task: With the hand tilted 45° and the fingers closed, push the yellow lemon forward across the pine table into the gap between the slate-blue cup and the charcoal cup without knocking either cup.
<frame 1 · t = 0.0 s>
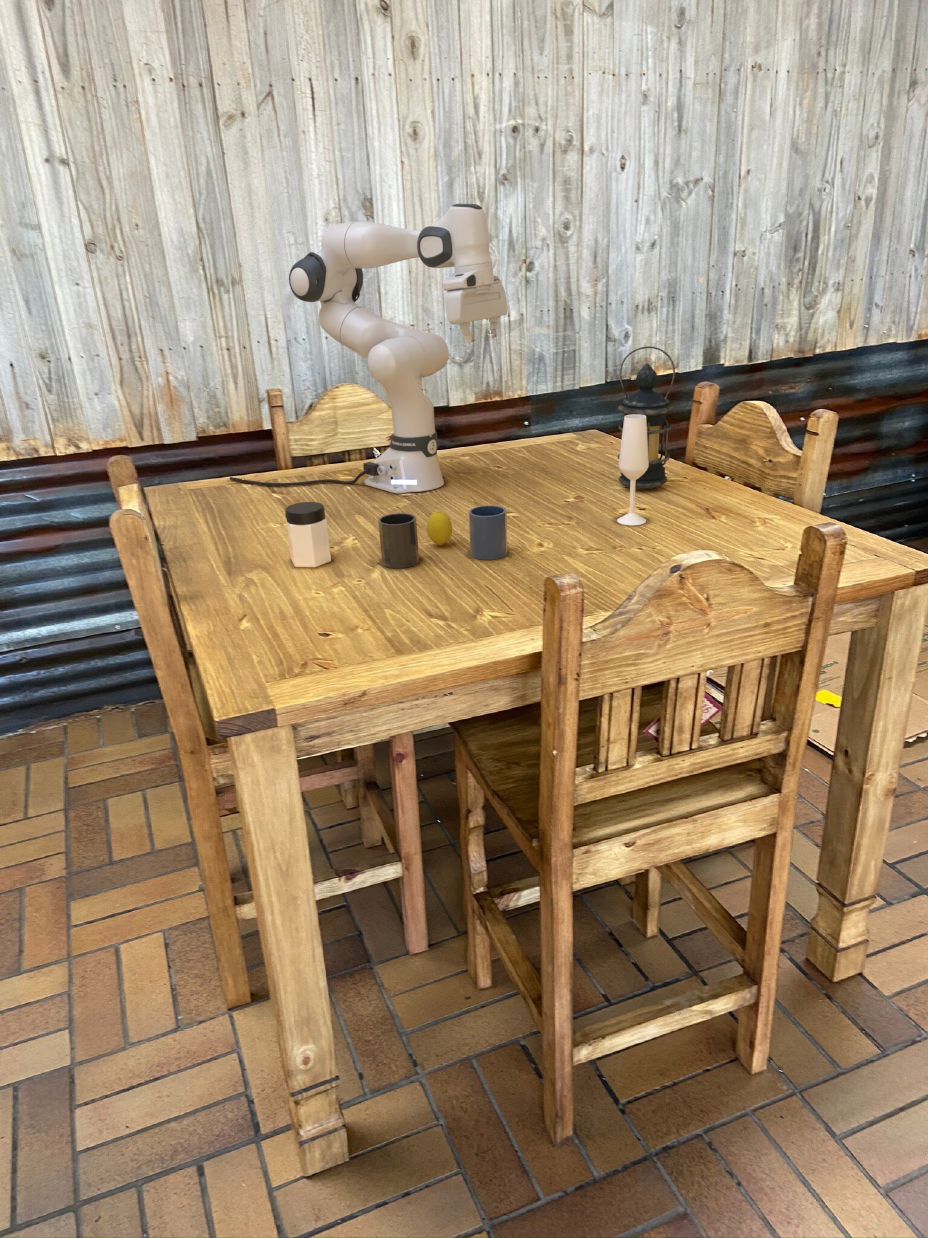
hand: (481, 339, 212), 39 cm above the table, tool pointing down, fingers open, 8 cm apart
slate cup: (489, 553, 189), on the table
champagne flute: (631, 521, 205), on the table
lantern: (642, 487, 229), on the table
charcoal cup: (400, 561, 187), on the table
jar: (311, 561, 190), on the table
lemon: (440, 546, 195), on the table
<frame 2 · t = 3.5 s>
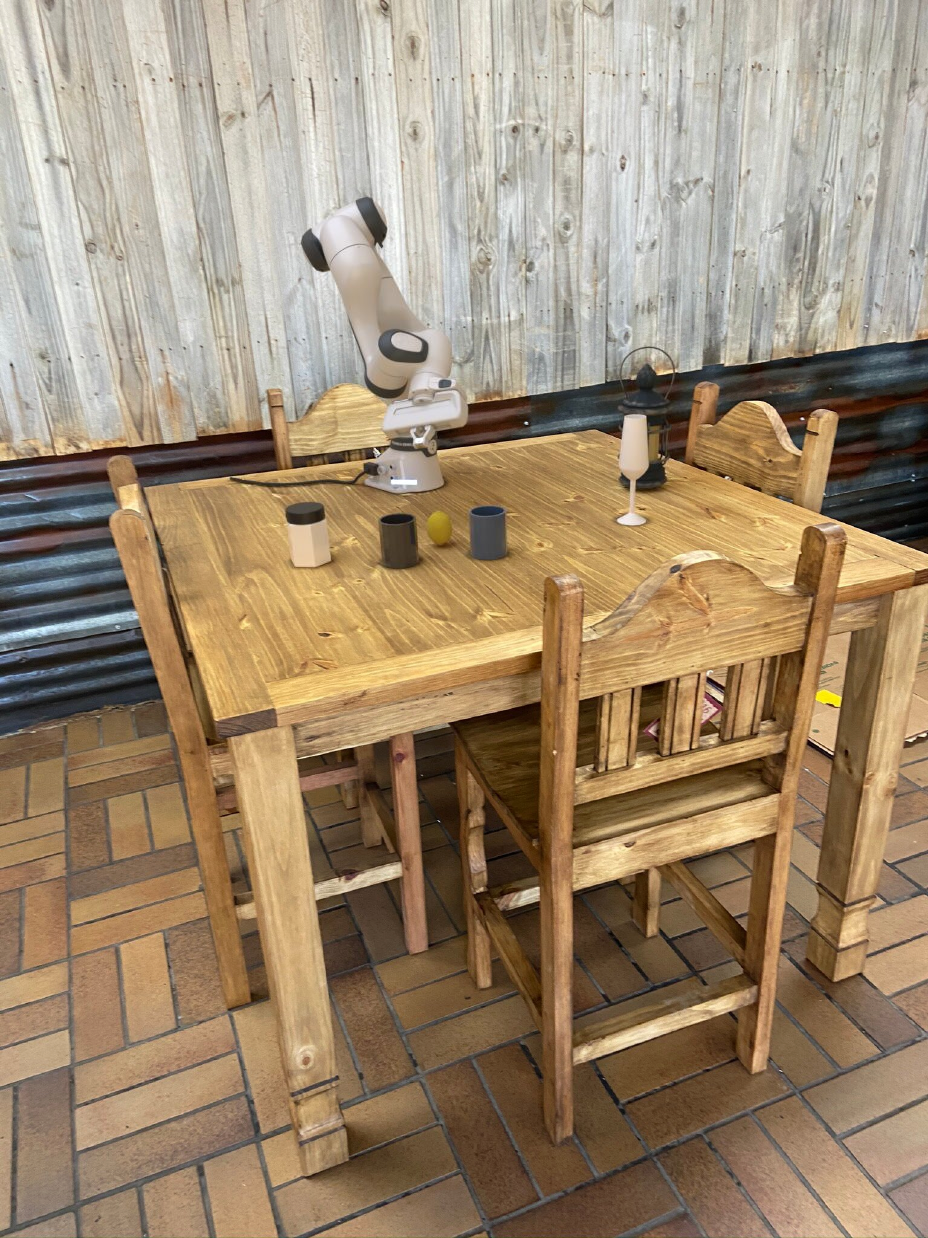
hand: (420, 446, 196), 20 cm above the table, tool tilted 45°, fingers closed
nothing on the table moved.
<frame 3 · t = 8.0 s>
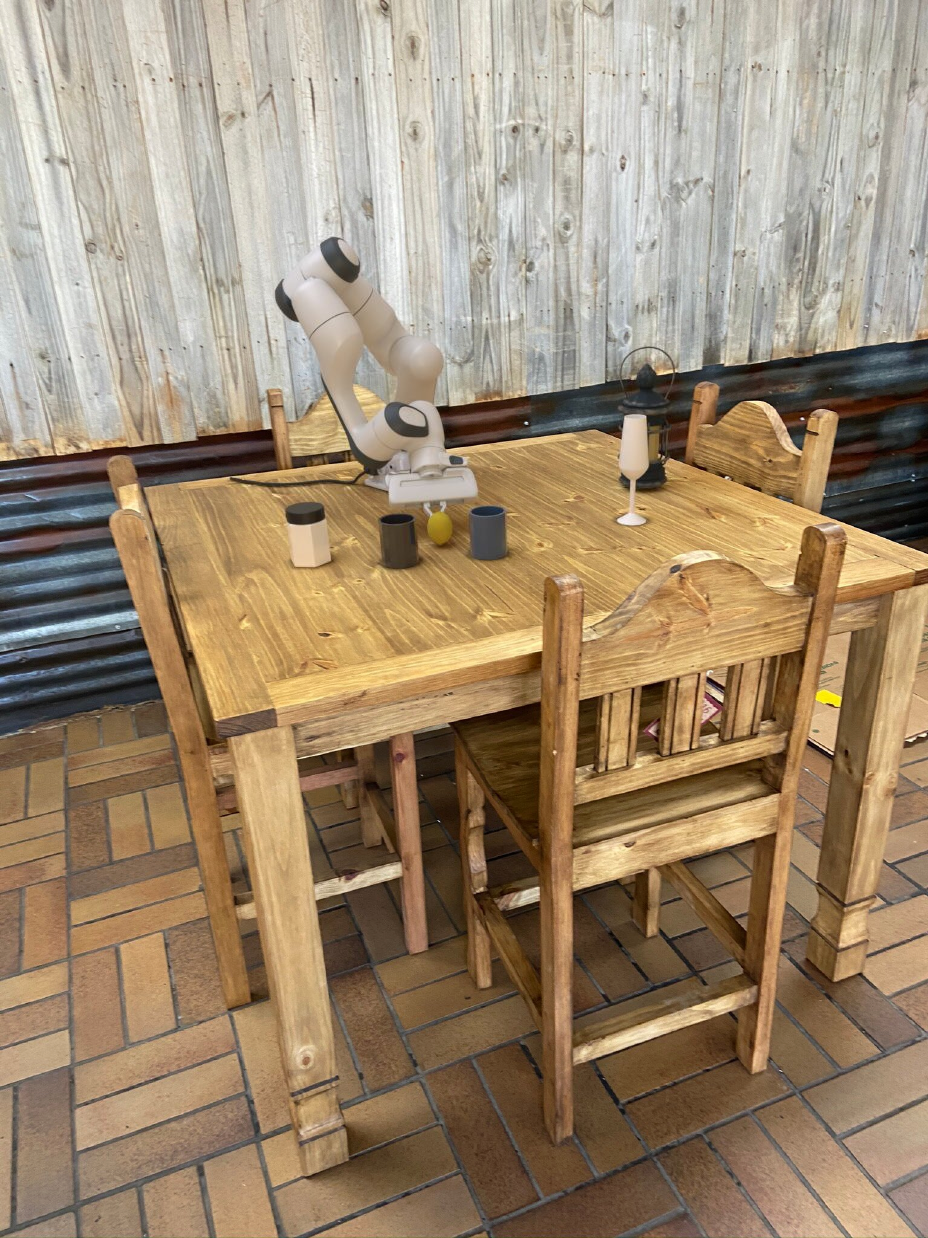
hand: (437, 522, 196), 4 cm above the table, tool tilted 45°, fingers closed, pressing on lemon
lemon: (440, 546, 195), on the table, touching gripper
everything else where it was.
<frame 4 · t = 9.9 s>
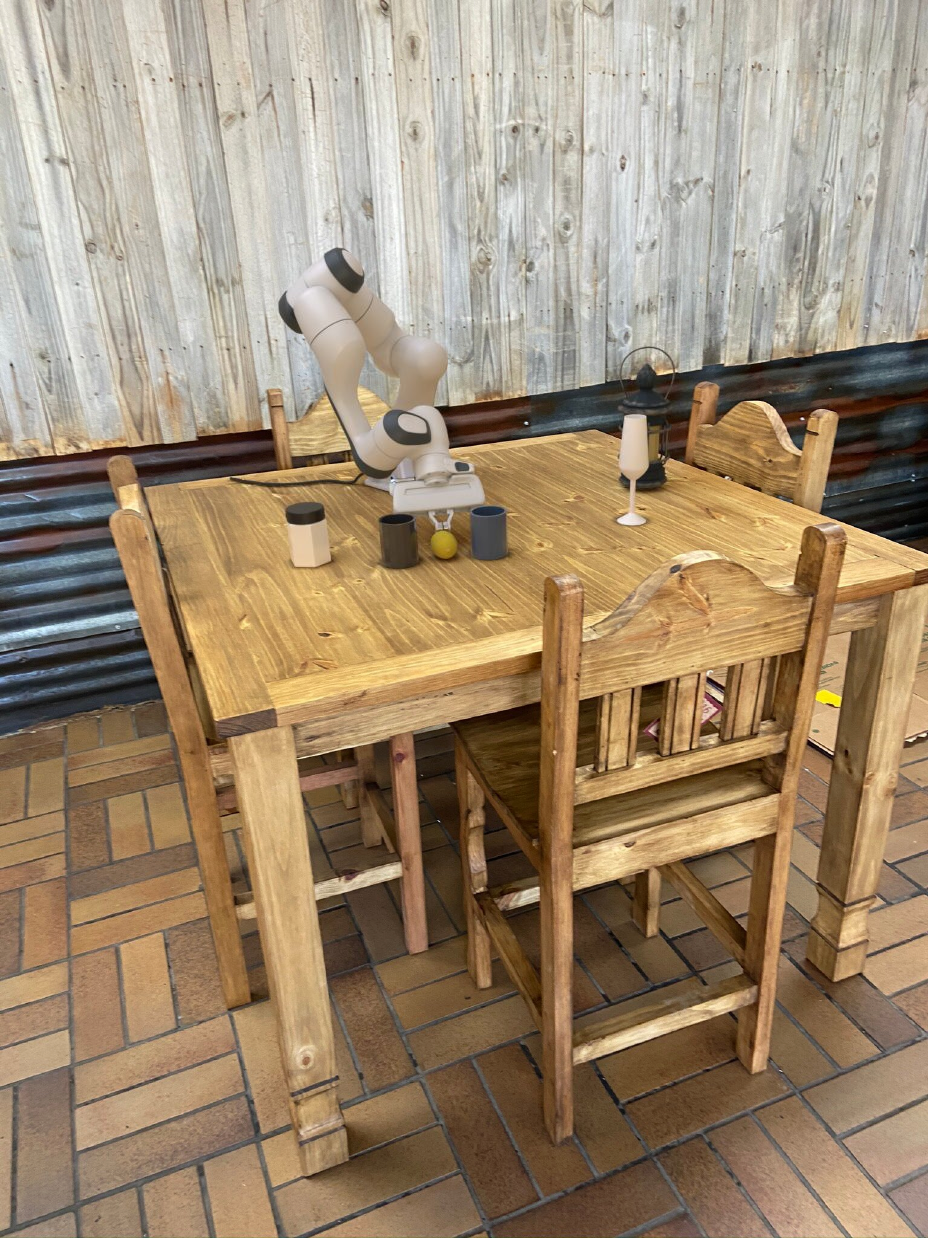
hand: (443, 531, 190), 4 cm above the table, tool tilted 45°, fingers closed
lemon: (438, 536, 191), point 3 cm above the table, touching gripper
everything else where it was.
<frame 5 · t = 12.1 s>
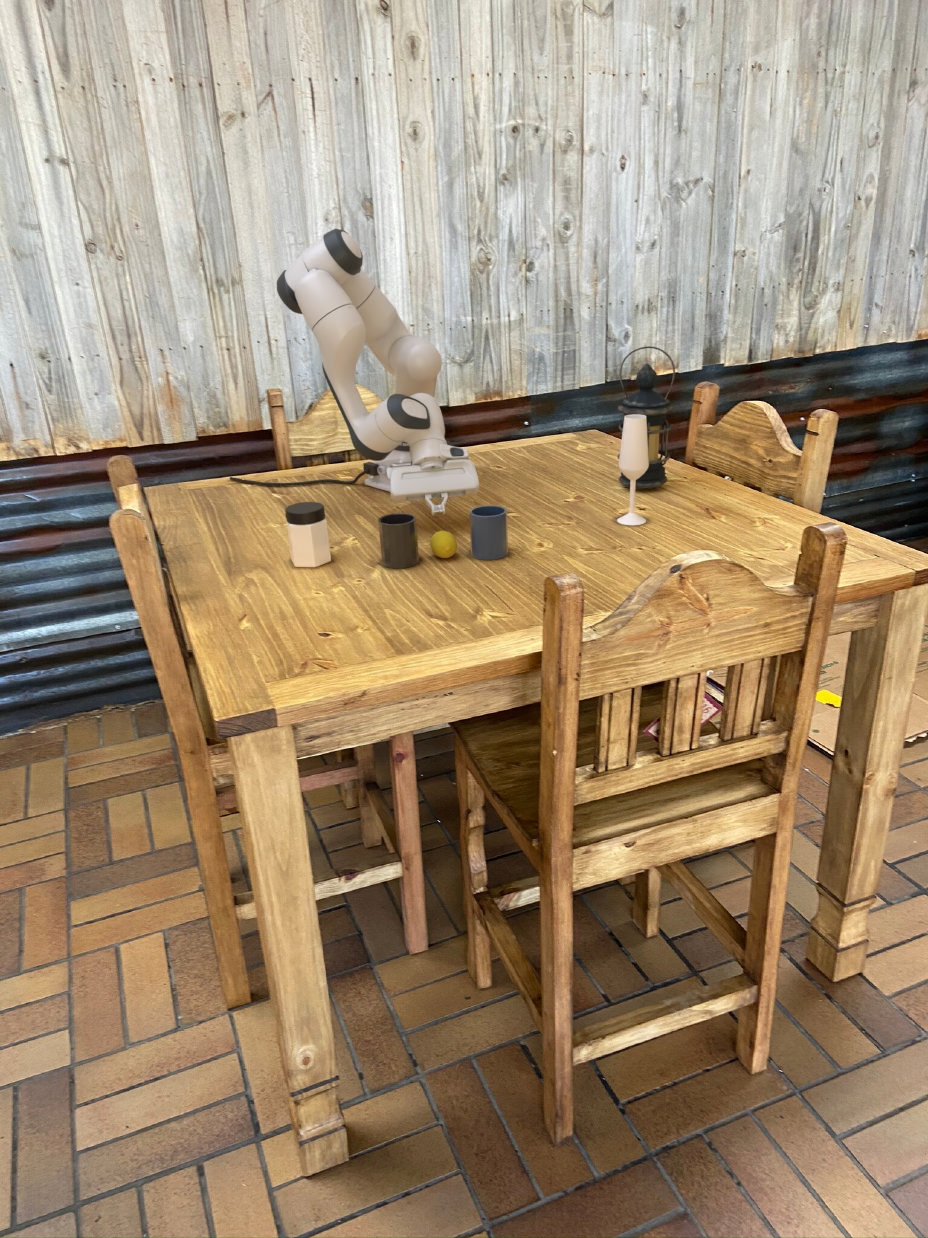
hand: (438, 513, 198), 6 cm above the table, tool tilted 45°, fingers closed
lemon: (438, 538, 191), point 3 cm above the table
everything else where it was.
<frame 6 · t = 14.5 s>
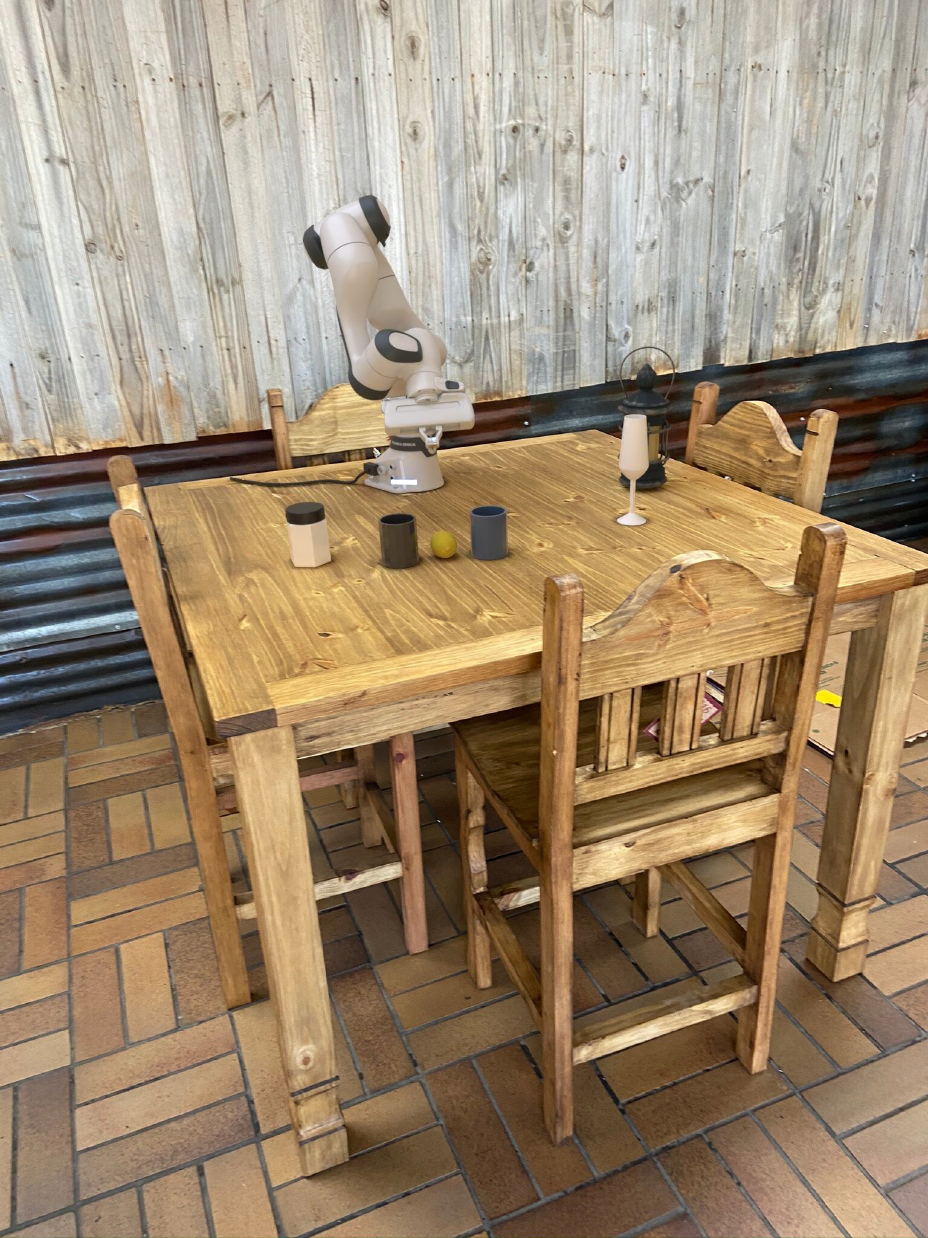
hand: (432, 446, 195), 20 cm above the table, tool tilted 45°, fingers closed
nothing on the table moved.
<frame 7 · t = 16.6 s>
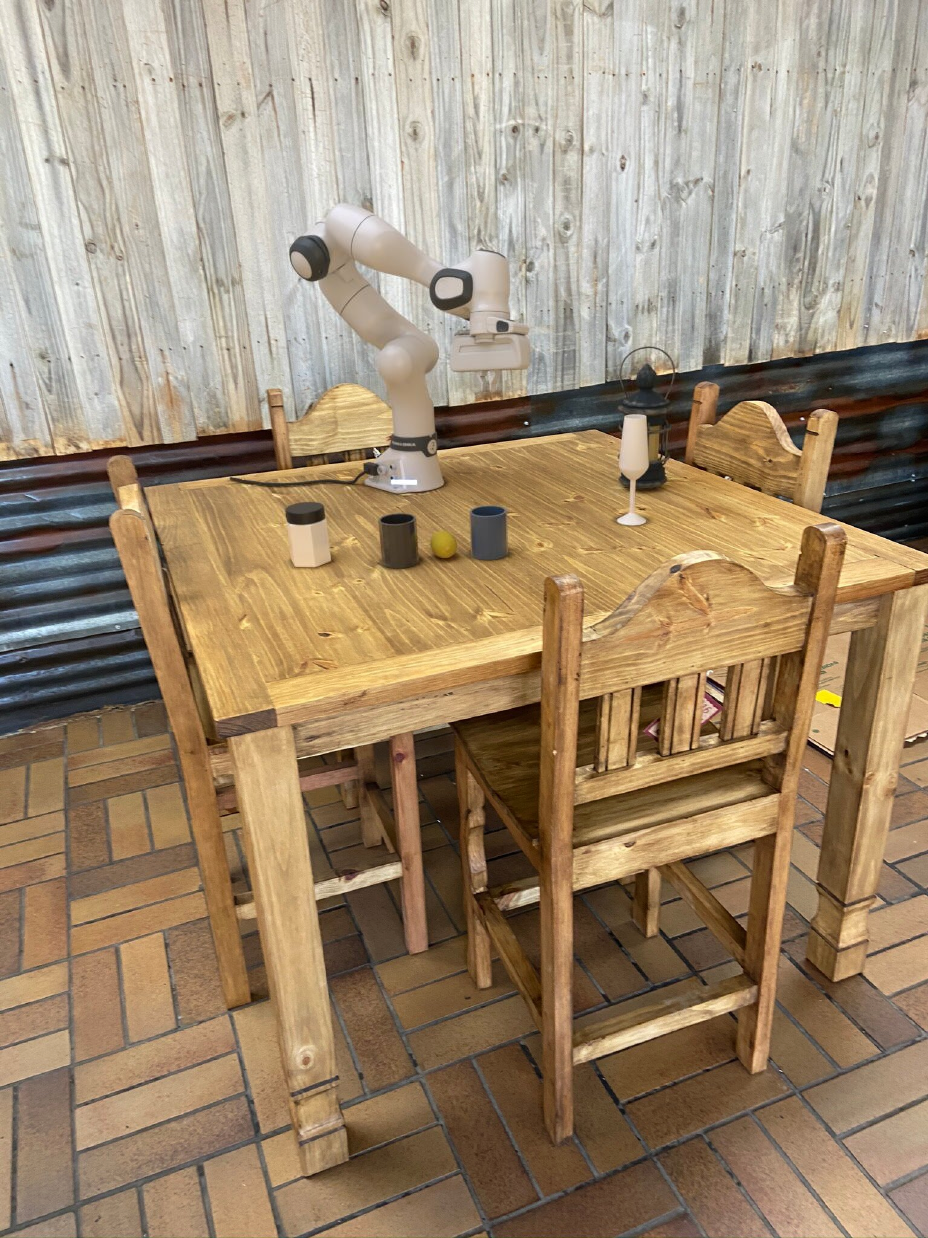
hand: (488, 391, 199), 30 cm above the table, tool pointing down, fingers closed
nothing on the table moved.
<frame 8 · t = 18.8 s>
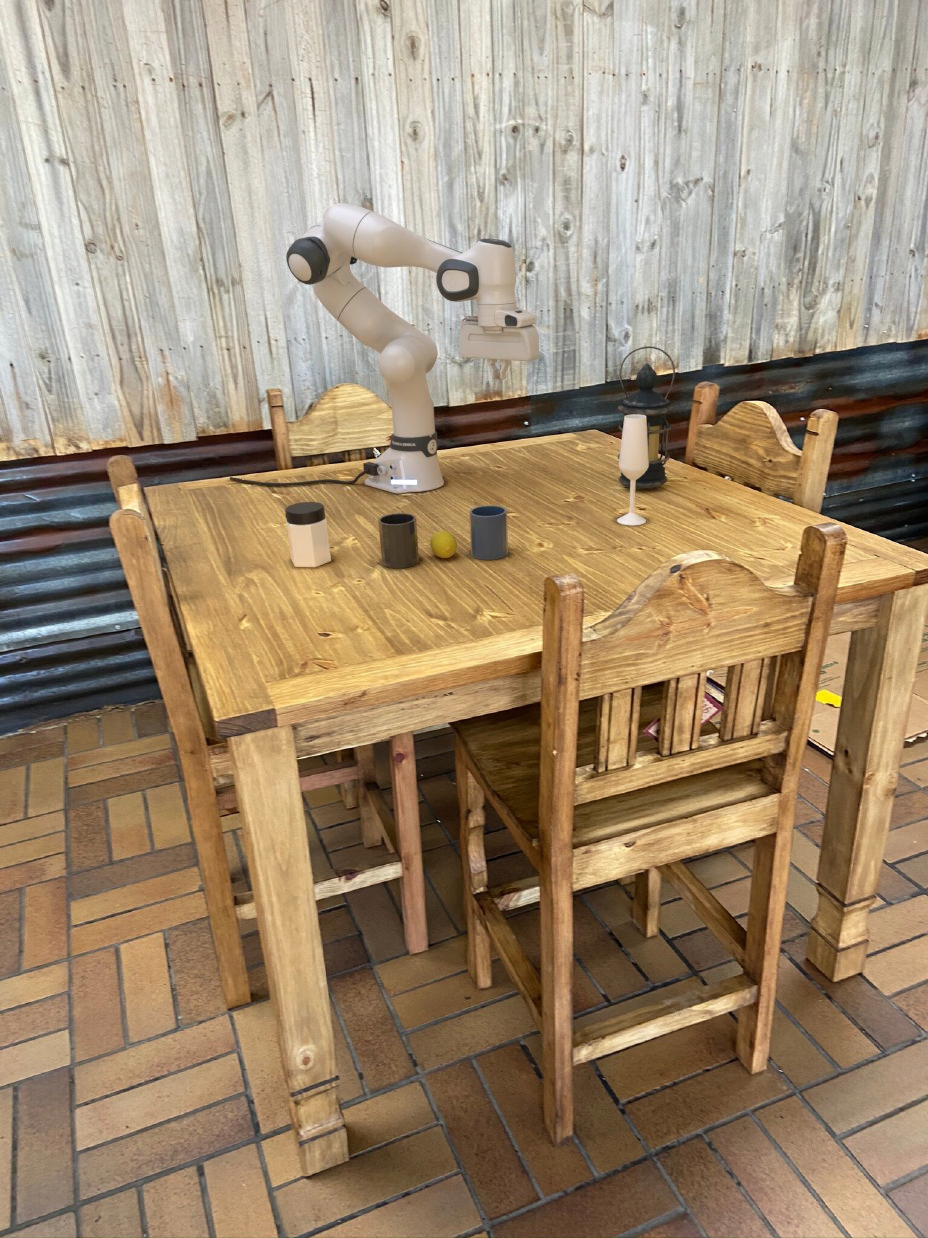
hand: (499, 379, 205), 31 cm above the table, tool pointing down, fingers closed
nothing on the table moved.
at the end: lemon inside the target area (4.9 cm from its centre), point 2.7 cm above the table; slate cup moved 0.2 cm from its start; charcoal cup moved 0.0 cm from its start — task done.
